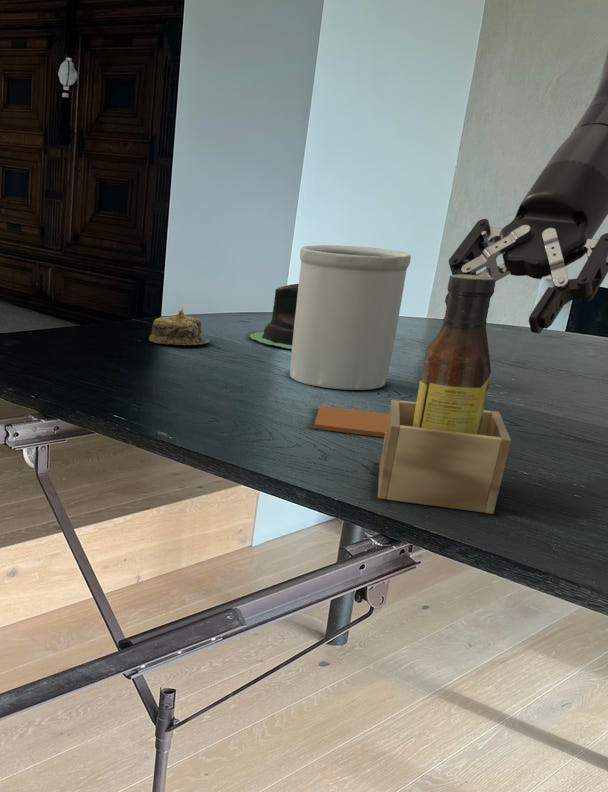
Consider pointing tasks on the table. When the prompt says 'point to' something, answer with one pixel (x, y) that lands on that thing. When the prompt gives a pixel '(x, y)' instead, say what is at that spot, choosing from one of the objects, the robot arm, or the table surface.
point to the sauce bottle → (458, 361)
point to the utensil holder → (347, 315)
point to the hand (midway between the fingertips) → (491, 319)
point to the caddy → (442, 462)
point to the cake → (177, 330)
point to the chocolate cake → (281, 319)
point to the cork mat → (351, 421)
